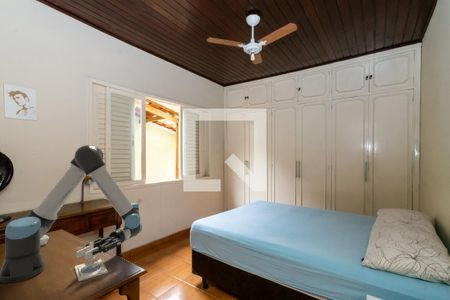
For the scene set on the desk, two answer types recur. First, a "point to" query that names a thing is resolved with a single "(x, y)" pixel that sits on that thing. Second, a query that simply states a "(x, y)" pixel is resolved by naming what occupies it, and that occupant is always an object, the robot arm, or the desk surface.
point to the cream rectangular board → (90, 270)
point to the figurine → (44, 239)
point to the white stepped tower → (91, 259)
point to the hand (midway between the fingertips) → (81, 255)
